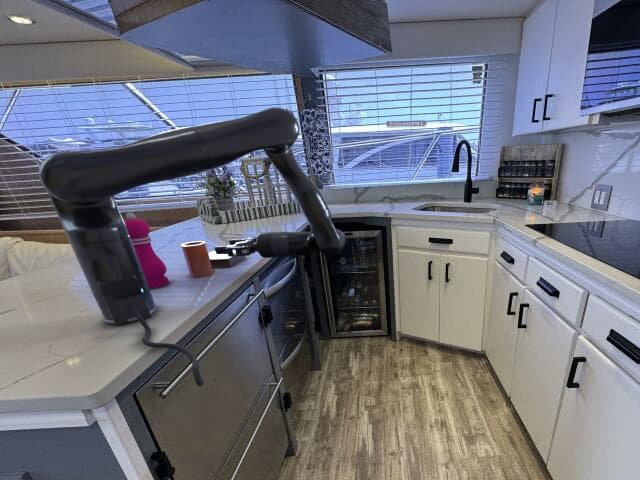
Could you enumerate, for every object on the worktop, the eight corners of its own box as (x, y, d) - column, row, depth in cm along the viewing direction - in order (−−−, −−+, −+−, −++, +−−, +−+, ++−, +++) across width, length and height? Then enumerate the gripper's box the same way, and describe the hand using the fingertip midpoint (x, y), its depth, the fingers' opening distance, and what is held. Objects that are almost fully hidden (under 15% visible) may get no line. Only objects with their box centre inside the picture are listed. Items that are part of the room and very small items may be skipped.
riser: (230, 267, 104) (228, 258, 103) (197, 268, 104) (194, 259, 103) (245, 258, 114) (243, 249, 113) (215, 259, 114) (212, 251, 113)
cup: (216, 273, 98) (207, 243, 95) (193, 278, 95) (183, 247, 91) (210, 269, 103) (202, 240, 99) (188, 274, 99) (179, 244, 95)
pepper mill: (134, 288, 89) (105, 214, 81) (160, 279, 95) (135, 210, 87) (151, 290, 86) (122, 215, 78) (176, 282, 92) (153, 210, 84)
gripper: (283, 227, 100) (231, 229, 100) (265, 237, 87) (206, 239, 87) (287, 250, 103) (237, 252, 103) (271, 263, 90) (214, 266, 90)
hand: (223, 246), depth 95 cm, fingers open, 8 cm apart
